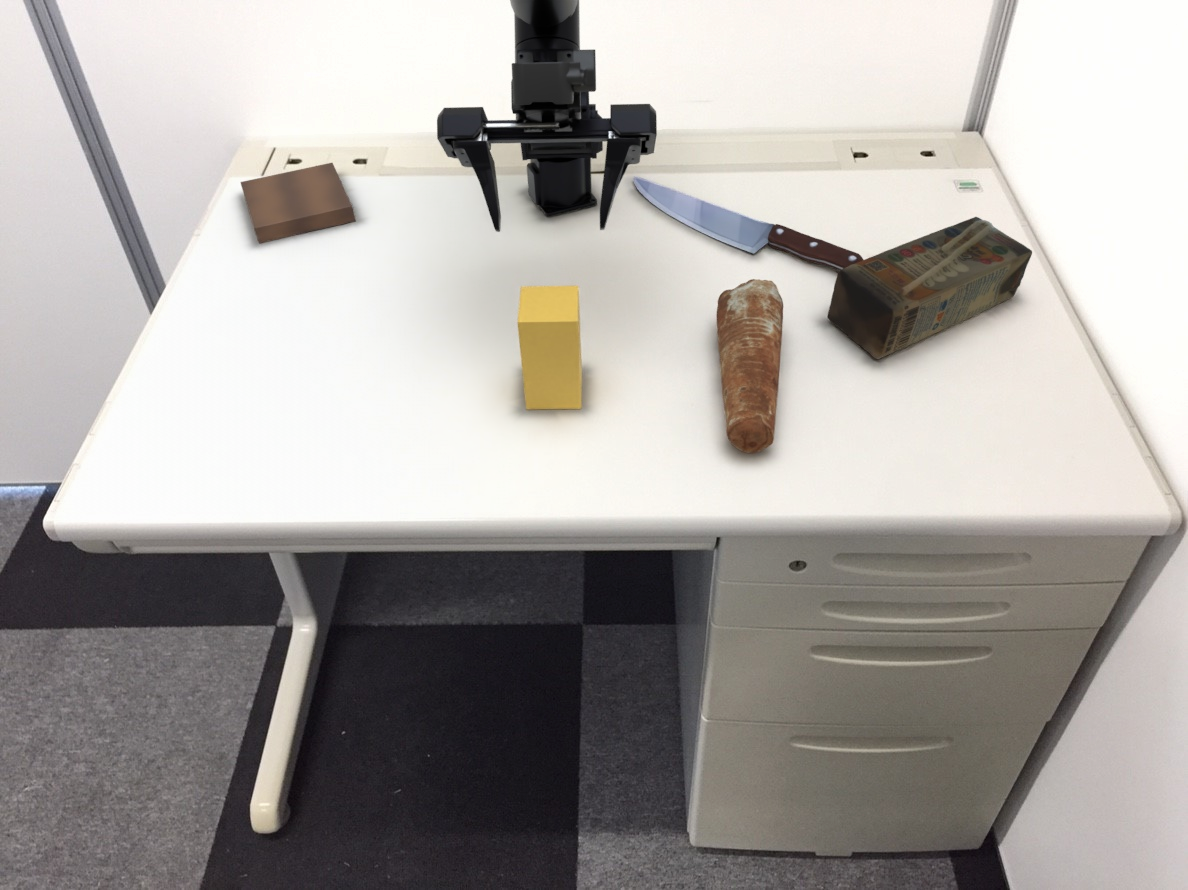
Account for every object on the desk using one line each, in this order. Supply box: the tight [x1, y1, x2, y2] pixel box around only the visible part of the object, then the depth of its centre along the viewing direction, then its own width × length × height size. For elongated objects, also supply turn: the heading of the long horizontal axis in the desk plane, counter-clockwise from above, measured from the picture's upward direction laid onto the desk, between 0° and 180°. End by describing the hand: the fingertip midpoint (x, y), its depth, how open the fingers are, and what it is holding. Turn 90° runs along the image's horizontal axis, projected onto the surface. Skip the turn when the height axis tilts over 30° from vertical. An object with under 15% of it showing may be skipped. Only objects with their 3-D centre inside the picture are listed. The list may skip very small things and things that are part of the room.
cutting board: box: [240, 162, 356, 244], centre depth 107 cm, size 11×11×2 cm
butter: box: [516, 285, 583, 410], centre depth 81 cm, size 5×5×10 cm
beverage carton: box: [826, 216, 1033, 360], centre depth 90 cm, size 8×19×7 cm, turn 121°
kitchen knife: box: [632, 176, 864, 271], centre depth 102 cm, size 5×31×2 cm, turn 51°
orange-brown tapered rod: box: [715, 278, 784, 454], centre depth 83 cm, size 6×19×6 cm, turn 171°
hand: (549, 229), depth 80 cm, fingers open, 9 cm apart
